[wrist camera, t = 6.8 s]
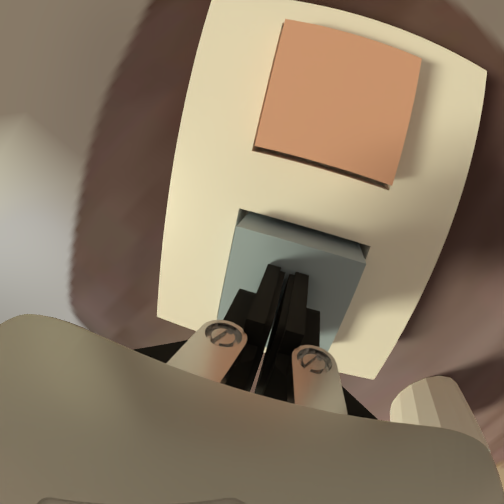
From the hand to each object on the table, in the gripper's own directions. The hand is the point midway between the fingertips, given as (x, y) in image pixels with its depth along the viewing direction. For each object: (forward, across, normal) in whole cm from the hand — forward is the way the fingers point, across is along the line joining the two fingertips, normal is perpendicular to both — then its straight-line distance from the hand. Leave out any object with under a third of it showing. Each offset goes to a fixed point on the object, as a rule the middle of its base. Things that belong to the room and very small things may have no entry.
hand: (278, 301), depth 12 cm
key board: (+4, 0, -4) cm, 6 cm away
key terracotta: (+3, 0, -8) cm, 8 cm away
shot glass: (+4, -13, +8) cm, 16 cm away
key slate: (+2, 0, 0) cm, 2 cm away
